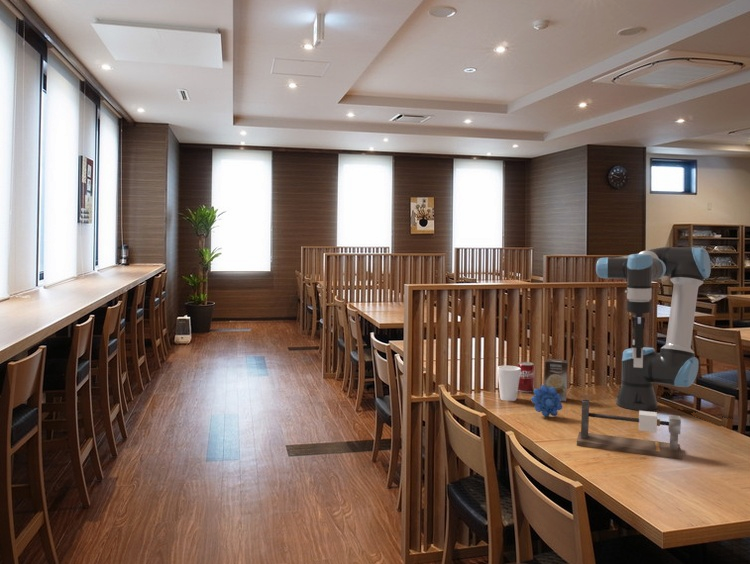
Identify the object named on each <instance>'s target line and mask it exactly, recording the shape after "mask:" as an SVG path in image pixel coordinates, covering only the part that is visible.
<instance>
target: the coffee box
mask: <svg viewBox="0 0 750 564" xmlns="http://www.w3.org/2000/svg"><path fill="white" fill-rule="evenodd" d="M568 365H569V361H568V360H567V359H566V360H565V359H555V358H545V362H544V383H543V385H546V386H547V387H548V389H549V388H550V387H554V388H555V389H556V391H557V392H556V394H560V395H561V397H562V400H561V401H560V402H567V393H568V391H567V390H568V369H569V368H568V367H569V366H568Z"/></svg>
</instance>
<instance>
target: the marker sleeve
mask: <svg viewBox="0 0 750 564" xmlns="http://www.w3.org/2000/svg"><path fill="white" fill-rule="evenodd" d="M638 418H639V422H638V431H641V432H650V433H657V431H658V427H657V419H658V412H657V411H656V412H655V411H649V410H638Z"/></svg>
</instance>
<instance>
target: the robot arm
mask: <svg viewBox="0 0 750 564" xmlns="http://www.w3.org/2000/svg"><path fill="white" fill-rule="evenodd" d="M711 267H712V266H711V259H710V254H709V253H708V251H707V250H706V248H703V247H695V246H692V247H691V246H690V247H686V246H685V247H684V246H682V247H680V246H679V247H676V246H675V247H674V246H673V247H668V246H663V247H662V246H661V247H656V248H651V249H646V250H643V251H640V252H639V253H632V254H629V255H624V256H623V255H622V256H618V257H600V258H598V260H597V261H596V264H595V272H596V275H597V277H598V278H601V279H606V280H607V279H610V280H611V279H613V280H614V279H615V280H626V281H627V282H626V283H627V284H626V287H627V288H626V290H625V291H624V293H626V299H627V301H626V308H625V309H626V311H627V312H628V313H632V314H633V316H631V323H632V345H631V347H630V348H627V349H624V350H623V352H622V357H621V358H622V359H621V385H620V388H619V390H618V393H617V395H616V398H615V404H616V405H617V406H619V407H620V408H621V407H622V408H625V409H629V410H635V411H654V410H657V409H658V400H657V398H656V397H657V396H656V393H655V389H654V384H661V385H662V384H663V385H668V386H673V387H678V388H679V387H682V388H688V387H690V386H692V385H693V384H694V382H695V380H696V378H697V376H698V373H699V359H698V358H697V357H695V352H694V350H693V349H692V348H691V346H692V339H693V331H694V322H695V315H696V309H697V308H696V307H697V300H698V292H699V287H700V286H702V285H703V284H704V283H705V282H704V281H705V279H708V278H709V277H710V276H711V275H710V274H711V271H712V268H711ZM663 277H670V279H669V281H670V282H671V283H672V284H673V286H672V287H673V289H672V296H671V303H670V310H669V319H668V325H667V333H666V341H665V344H664V345H663V346H662V347H660V351H659V352H656V350H655V347H649V346H648V347H645V346H644V331H645V323H646V318H645V316H643V315H644V314H649V313H651V312H652V301H651V300H652V291H653V290H652V283H653V282H652V281H657V280H659V279H661V278H663Z"/></svg>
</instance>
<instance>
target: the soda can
mask: <svg viewBox="0 0 750 564" xmlns="http://www.w3.org/2000/svg"><path fill="white" fill-rule="evenodd" d="M516 367H519V368H521V374H520V378H519V385H518V391H517V392H521V393H534V389H535V364H534V363H533V362H530V361H529V362H526V361H520V362H519V361H518V363H517V366H516Z"/></svg>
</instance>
